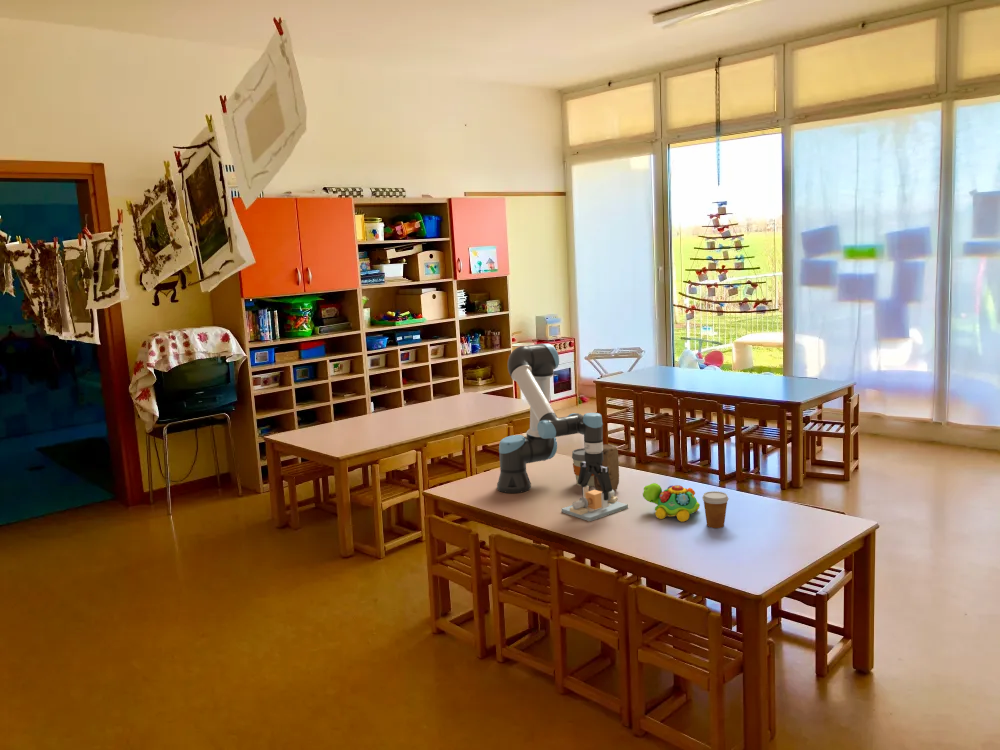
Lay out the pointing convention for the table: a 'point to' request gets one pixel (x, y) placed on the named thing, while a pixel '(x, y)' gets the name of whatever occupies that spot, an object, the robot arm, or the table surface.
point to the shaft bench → (589, 514)
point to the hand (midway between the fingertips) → (595, 504)
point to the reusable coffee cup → (577, 458)
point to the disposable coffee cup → (715, 508)
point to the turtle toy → (672, 501)
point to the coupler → (594, 499)
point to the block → (610, 466)
